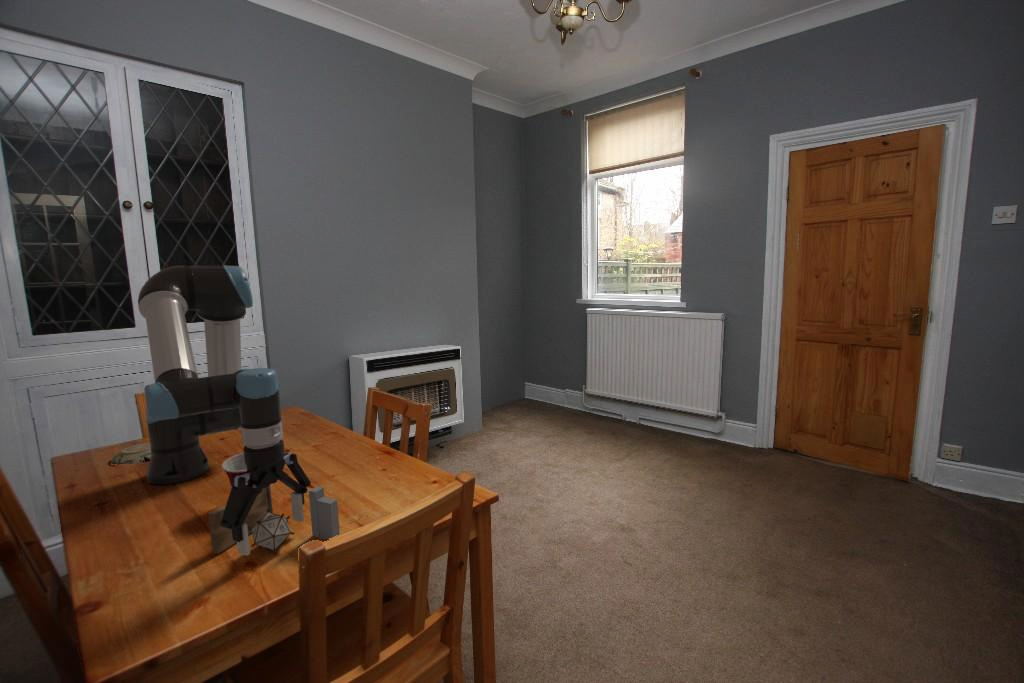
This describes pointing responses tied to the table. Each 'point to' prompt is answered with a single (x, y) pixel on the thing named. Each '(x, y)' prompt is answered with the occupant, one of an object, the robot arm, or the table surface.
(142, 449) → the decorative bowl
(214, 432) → the robot arm
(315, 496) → the grey upright posts
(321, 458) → the table surface
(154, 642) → the table surface
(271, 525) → the game die
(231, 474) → the plastic cup
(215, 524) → the door
